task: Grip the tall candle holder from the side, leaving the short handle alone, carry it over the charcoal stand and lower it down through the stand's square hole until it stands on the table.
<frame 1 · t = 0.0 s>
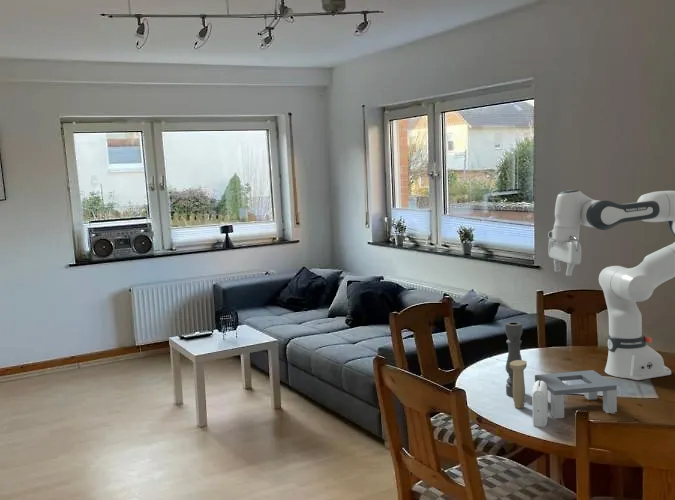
hand: (562, 273, 240), 39 cm above the table, tool pointing down, fingers open, 8 cm apart
photo printer: (540, 421, 207), on the table
hole stand: (574, 406, 216), on the table
candle holder: (515, 394, 231), on the table
handle: (519, 407, 219), on the table
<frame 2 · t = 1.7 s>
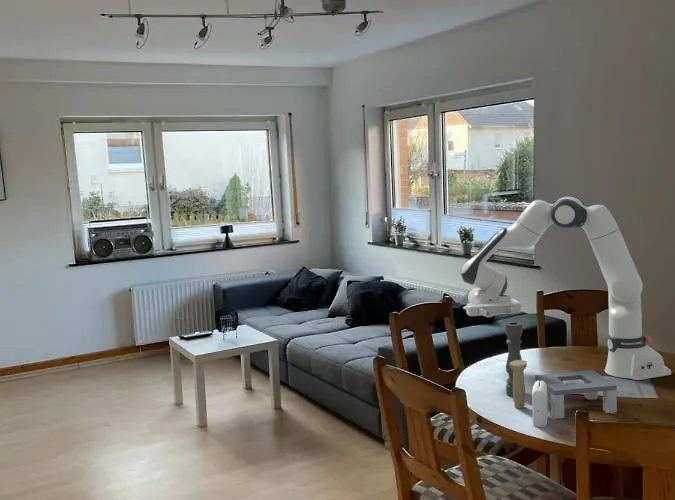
hand: (500, 312, 242), 26 cm above the table, tool horizontal, fingers open, 8 cm apart
nothing on the table moved.
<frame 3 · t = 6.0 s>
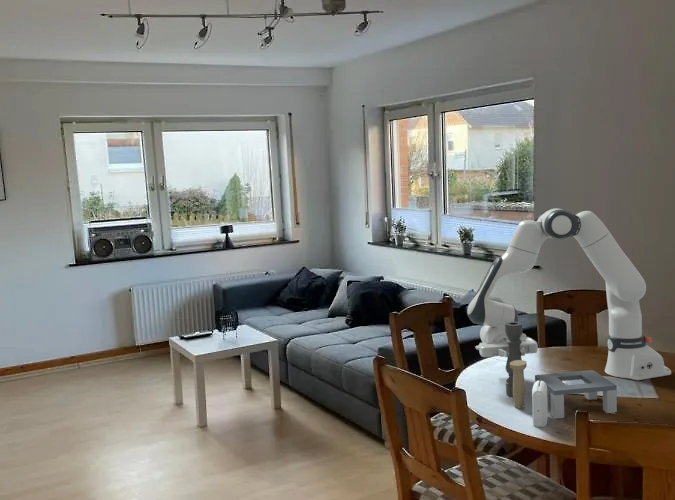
hand: (515, 354, 229), 15 cm above the table, tool horizontal, fingers closed on candle holder, 4 cm apart
candle holder: (515, 394, 231), on the table, touching gripper
everything else where it was.
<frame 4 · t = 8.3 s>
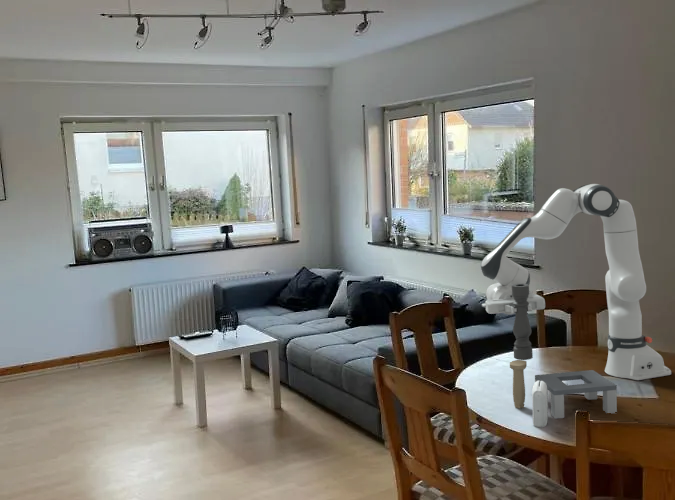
hand: (522, 309, 225), 30 cm above the table, tool horizontal, fingers closed on candle holder, 4 cm apart
candle holder: (523, 357, 228), point 13 cm above the table, touching gripper
everything else where it was.
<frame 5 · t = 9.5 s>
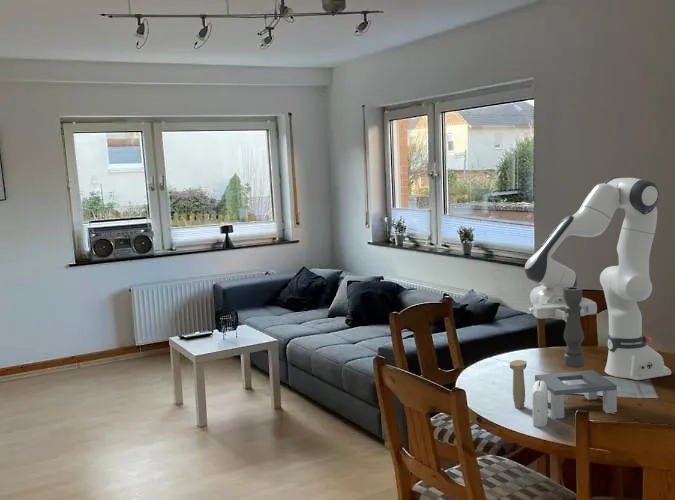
hand: (574, 314, 212), 31 cm above the table, tool horizontal, fingers closed on candle holder, 4 cm apart
candle holder: (574, 365, 215), point 14 cm above the table, touching gripper
everything else where it was.
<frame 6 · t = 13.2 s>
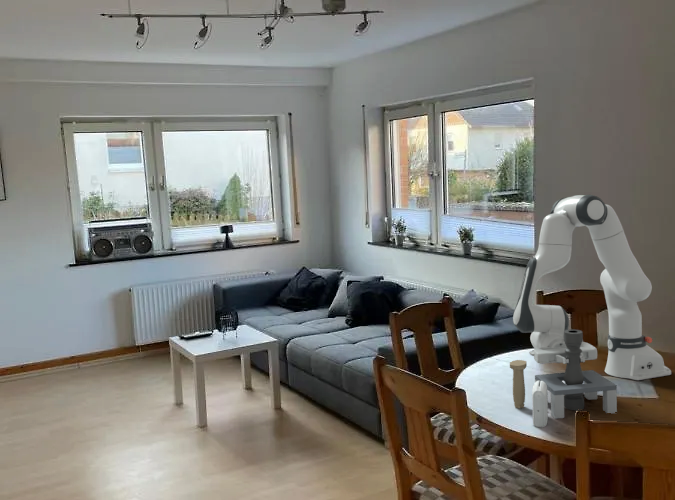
hand: (574, 360, 214), 16 cm above the table, tool horizontal, fingers closed on candle holder, 4 cm apart
candle holder: (574, 407, 217), on the table, touching gripper
everything else where it was.
when the fingers open (16 cm above the table, at t = 13.5 s): candle holder stays where it is, on the table.
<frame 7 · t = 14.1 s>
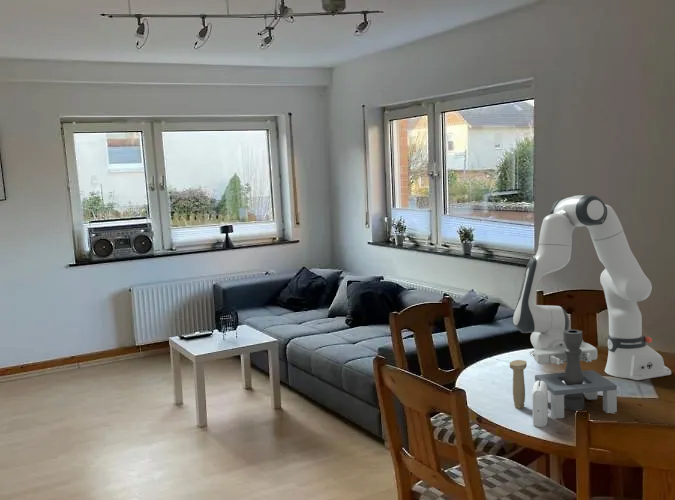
hand: (575, 361, 214), 16 cm above the table, tool horizontal, fingers open, 8 cm apart
candle holder: (574, 407, 217), on the table
everything else where it was.
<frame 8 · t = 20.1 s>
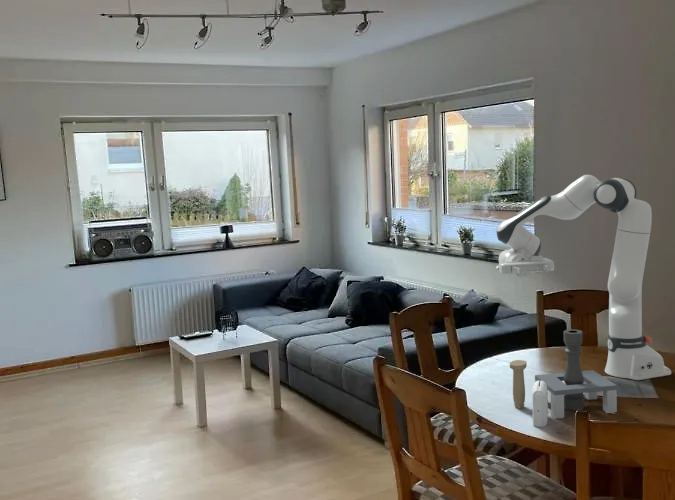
hand: (533, 269, 244), 40 cm above the table, tool horizontal, fingers open, 8 cm apart
nothing on the table moved.
at the end: candle holder 0.2 cm off-centre on the hole stand, point 0.0 cm above the hole stand's base; candle holder tilted 0°; handle moved 0.2 cm from its start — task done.
